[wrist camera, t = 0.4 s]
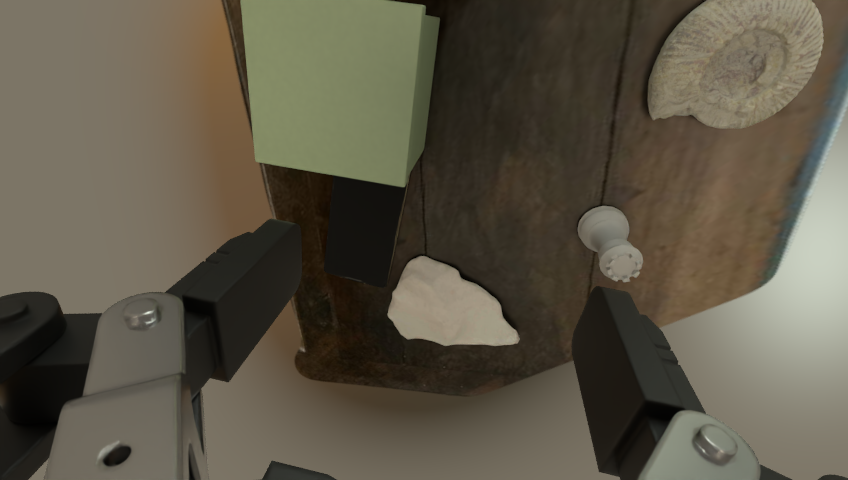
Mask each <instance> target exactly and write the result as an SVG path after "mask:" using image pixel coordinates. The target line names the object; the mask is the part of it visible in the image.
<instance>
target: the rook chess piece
mask: <svg viewBox="0 0 848 480" xmlns="http://www.w3.org/2000/svg"><path fill="white" fill-rule="evenodd" d="M577 230H578V234H579V237H580V238H581V240H582V242H583V243H584V244H585V246H586V247H587V248H589V249H591V250H593V251H595V252H598V253H599V254H598V256H599V260H600V263H599V264H600V269H601V271H602V272H603V274H604V275H605V276H607V277H609V278H611V279H613V280H615V281H618V280H621V279H622V281H623V282H628V281H630V280H629V277H631V276H634V277H635V278H636V277H637V276H638V275H639V274H640V273H639V270H640V269H641V268H642V263H643V258H642V254H641V253H640V252H639V250H638V249H636V248H634V247H633V246H632V245H631V243H630V242H628V241H627V238H628V234H629V225H628V221H627V220H626V217H625V215H624V214H623V213H622V212H621V211H620V210H618V209H616V208H614V207H609V206H601V207H597V208H593V209H592V210H590V211H588V212H587V213H585V214H584V216H583V217H582V218H581V220H580V221H579V225H578V229H577Z"/></svg>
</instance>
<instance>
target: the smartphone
mask: <svg viewBox="0 0 848 480" xmlns="http://www.w3.org/2000/svg"><path fill="white" fill-rule="evenodd" d="M409 177H410V174H409V175H408V182H409ZM408 182H407V184H406V185H405V187H399V186H393V185H387V184H382V183H376V182H370V181H364V180H359V179H353V178H347V177H341V176H335V175H334V176H333V187H332V197H331V206H330V216H329V226H328V235H327V244H326V253H325V263H324V271H325V272H327V273H330V274H333V275H336V276H339V277H343V278H346V279H350V280H353V281H357V282H361V283H365V284H369V285H373V286H377V287H381V288H384V287H386V286H387V283H388V279H389V274H390V270H391V265H392V260H393V255H394V251H395V246H396V241H397V236H398V231H399V226H400V222H401V217H402V212H403V207H404V202H405V197H406V192H407V187H408Z"/></svg>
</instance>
